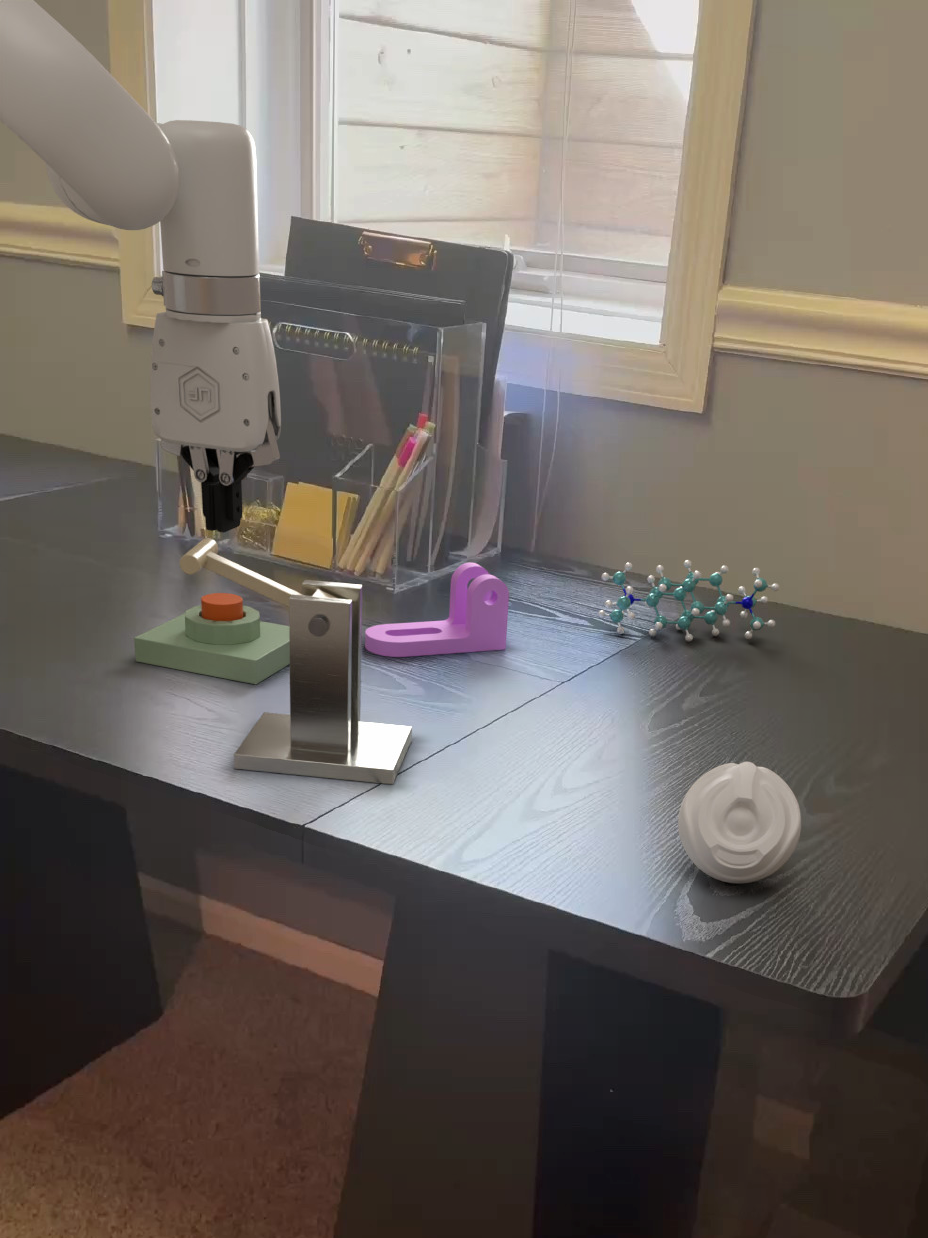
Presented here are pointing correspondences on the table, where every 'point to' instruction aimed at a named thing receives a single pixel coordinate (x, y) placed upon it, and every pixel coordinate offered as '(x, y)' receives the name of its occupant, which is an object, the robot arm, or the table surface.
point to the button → (222, 607)
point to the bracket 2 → (452, 621)
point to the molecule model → (680, 595)
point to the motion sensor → (739, 822)
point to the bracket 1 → (325, 699)
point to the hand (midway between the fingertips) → (223, 527)
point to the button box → (217, 646)
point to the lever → (236, 572)
